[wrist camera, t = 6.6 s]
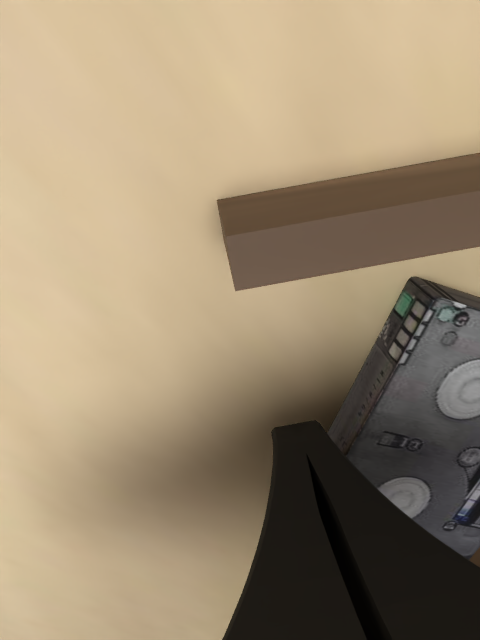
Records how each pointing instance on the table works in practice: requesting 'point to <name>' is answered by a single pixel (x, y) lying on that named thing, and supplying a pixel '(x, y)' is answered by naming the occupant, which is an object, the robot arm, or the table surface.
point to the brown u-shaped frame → (353, 223)
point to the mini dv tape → (422, 413)
